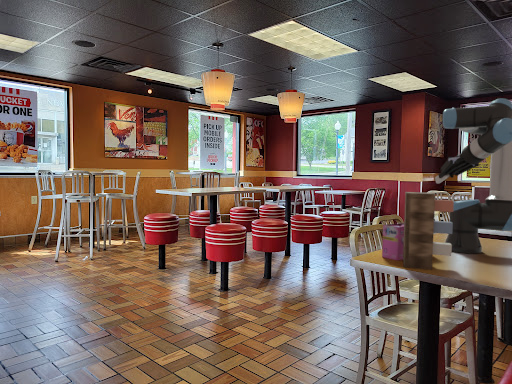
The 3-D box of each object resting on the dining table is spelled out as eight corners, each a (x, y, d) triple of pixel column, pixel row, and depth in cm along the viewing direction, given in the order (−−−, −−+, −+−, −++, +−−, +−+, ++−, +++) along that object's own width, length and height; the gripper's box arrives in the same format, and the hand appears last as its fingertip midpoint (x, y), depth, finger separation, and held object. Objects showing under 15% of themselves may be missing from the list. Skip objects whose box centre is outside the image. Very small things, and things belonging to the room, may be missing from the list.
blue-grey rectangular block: (450, 232, 141) (451, 221, 141) (452, 234, 138) (452, 222, 138) (424, 230, 144) (424, 220, 144) (425, 232, 141) (425, 221, 140)
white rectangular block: (449, 253, 142) (450, 243, 142) (451, 255, 138) (451, 244, 138) (423, 251, 145) (423, 241, 145) (424, 253, 141) (424, 243, 141)
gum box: (417, 251, 171) (418, 221, 170) (433, 255, 164) (434, 223, 163) (381, 257, 158) (382, 224, 157) (397, 260, 151) (398, 226, 151)
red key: (451, 210, 141) (451, 200, 141) (453, 211, 137) (453, 200, 137) (425, 209, 144) (425, 199, 144) (425, 210, 140) (426, 199, 140)
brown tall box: (429, 263, 147) (432, 192, 146) (431, 269, 138) (435, 193, 136) (402, 261, 150) (405, 191, 149) (403, 267, 141) (406, 193, 139)
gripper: (465, 157, 136) (425, 187, 157) (496, 161, 139) (452, 190, 159) (459, 140, 139) (421, 171, 160) (490, 144, 142) (448, 174, 163)
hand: (437, 180), depth 160 cm, fingers closed
